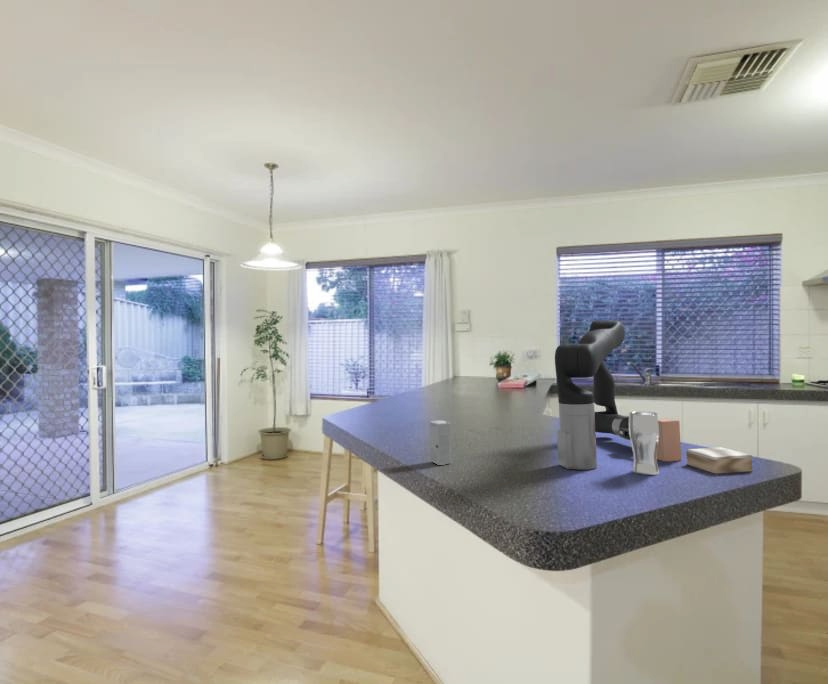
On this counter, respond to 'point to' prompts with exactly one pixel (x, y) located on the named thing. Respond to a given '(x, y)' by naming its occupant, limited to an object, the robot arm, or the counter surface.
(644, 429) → the beer glass
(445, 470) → the counter surface
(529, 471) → the counter surface
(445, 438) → the skincare box
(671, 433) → the pillar
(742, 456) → the base slab
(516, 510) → the counter surface
